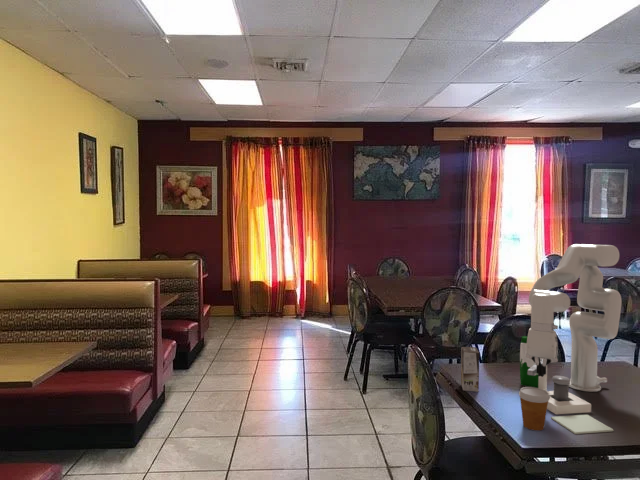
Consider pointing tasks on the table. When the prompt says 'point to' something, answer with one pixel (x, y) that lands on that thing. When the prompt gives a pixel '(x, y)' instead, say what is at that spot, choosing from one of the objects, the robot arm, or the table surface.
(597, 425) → the rubber mat
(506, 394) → the table surface
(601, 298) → the robot arm
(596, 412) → the table surface
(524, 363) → the milk carton
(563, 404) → the socket base
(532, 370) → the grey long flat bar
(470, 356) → the coffee box
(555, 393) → the plug
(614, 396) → the table surface
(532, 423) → the disposable coffee cup
